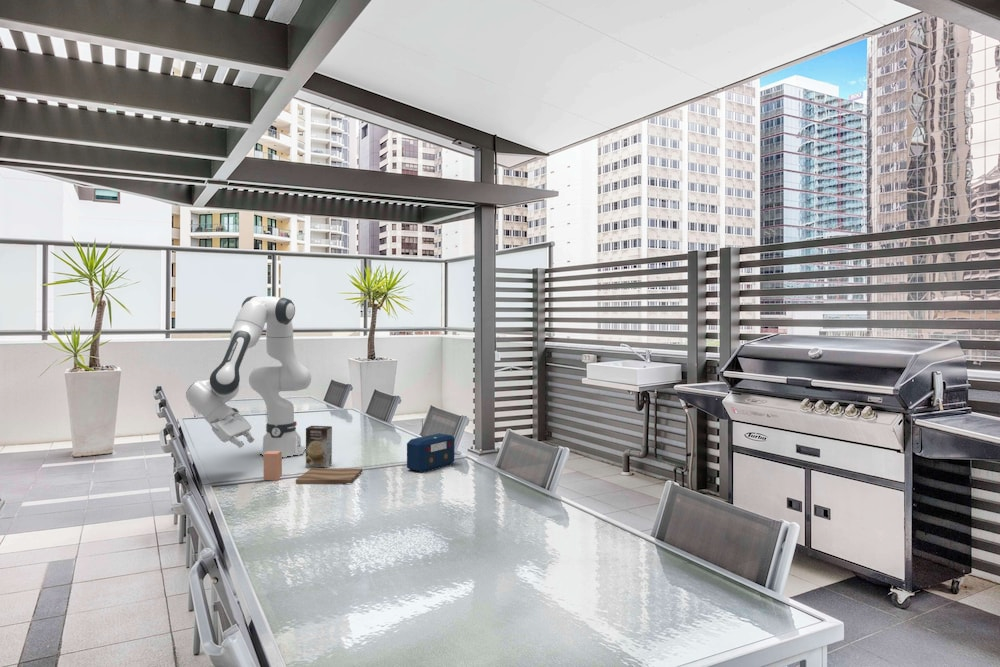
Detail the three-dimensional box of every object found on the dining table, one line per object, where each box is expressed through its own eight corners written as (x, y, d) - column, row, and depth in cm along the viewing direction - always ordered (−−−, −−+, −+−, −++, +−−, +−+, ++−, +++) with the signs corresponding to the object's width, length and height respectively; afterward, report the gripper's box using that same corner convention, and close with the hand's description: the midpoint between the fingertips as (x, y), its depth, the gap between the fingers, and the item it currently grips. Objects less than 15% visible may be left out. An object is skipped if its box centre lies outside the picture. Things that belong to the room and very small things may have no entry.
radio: (421, 473, 247) (421, 422, 247) (405, 470, 253) (405, 420, 252) (457, 464, 264) (456, 415, 264) (441, 461, 269) (441, 413, 269)
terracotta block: (268, 477, 242) (268, 451, 241) (281, 477, 242) (281, 451, 241) (263, 480, 237) (263, 453, 236) (277, 480, 237) (276, 453, 236)
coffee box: (304, 467, 257) (304, 427, 257) (311, 464, 264) (310, 425, 263) (326, 468, 256) (326, 428, 256) (332, 464, 263) (332, 425, 262)
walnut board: (311, 472, 250) (311, 468, 250) (362, 472, 250) (362, 468, 250) (295, 483, 232) (295, 479, 232) (350, 484, 232) (350, 479, 232)
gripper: (214, 415, 228) (241, 443, 228) (238, 408, 249) (263, 433, 249) (202, 428, 229) (229, 455, 229) (227, 419, 249) (252, 444, 249)
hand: (247, 443), depth 239 cm, fingers open, 8 cm apart
